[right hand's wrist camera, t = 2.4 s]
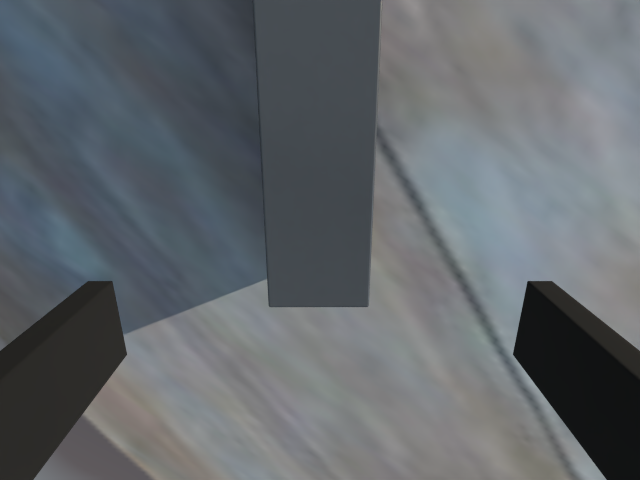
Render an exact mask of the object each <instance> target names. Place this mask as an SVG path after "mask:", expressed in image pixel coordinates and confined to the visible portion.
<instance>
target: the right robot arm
mask: <svg viewBox="0 0 640 480" xmlns="http://www.w3.org/2000/svg"><path fill="white" fill-rule="evenodd" d="M126 355H127V352H126V347H125V342H124V337H123V332H122V327H121V322H120V317H119V312H118V307H117V302H116V297H115V292H114V287H113V282H112V281H88V282H86V283H85V284H84V285H83V286H81V287H80V288H79V289H78V290H76V291H75V292H74V293H73V294H71V295H70V296H69V297H68V298H66V299H65V300H64V301H63V302H61V303H60V304H59V305H58V306H56V307H55V308H54V309H52V310H51V311H50V312H49V313H47V314H46V315H45V316H44V317H42V318H41V319H40V320H39V321H37V322H36V323H35V324H34V325H32V326H31V327H30V328H29V329H27V330H26V331H25V332H24V333H22V334H21V335H20V336H19V337H17V338H16V339H15V340H13V341H12V342H11V343H10V344H8V345H7V346H6V347H5V348H3V349H2V350H1V351H0V480H33V479H34V478H35V477H36V475H37V474H38V473H39V471H40V470H41V469H42V467H43V466H44V465H45V463H46V462H47V461H48V459H49V458H50V457H51V455H52V454H53V453H54V451H55V450H56V449H57V447H58V446H59V444H60V443H61V442H62V441H63V439H64V438H65V437H66V435H67V434H68V433H69V431H70V430H71V428H72V427H73V426H74V425H75V423H76V422H77V421H78V419H79V418H80V417H81V415H82V414H83V413H84V411H85V410H86V409H87V407H88V406H89V405H90V403H91V402H92V401H93V399H94V398H95V397H96V395H97V394H98V393H99V391H100V390H101V389H102V387H103V386H104V385H105V383H106V382H107V381H108V379H109V378H110V376H111V375H112V374H113V372H114V371H115V370H116V368H117V367H118V366H119V364H120V363H121V362H122V360H123V359H124V358H125V356H126ZM513 355H514V356H515V358H516V359H517V360H518V362H519V363H520V364H521V366H522V367H523V368H524V370H525V371H526V372H527V374H528V375H529V376H530V378H531V379H532V381H533V382H534V383H535V385H536V386H537V387H538V389H539V390H540V391H541V393H542V394H543V395H544V397H545V398H546V399H547V401H548V402H549V403H550V405H551V406H552V407H553V409H554V410H555V411H556V413H557V414H558V415H559V417H560V418H561V419H562V421H563V422H564V423H565V425H566V426H567V427H568V429H569V430H570V431H571V433H572V434H573V435H574V437H575V438H576V439H577V441H578V442H579V443H580V445H581V446H582V447H583V449H584V450H585V451H586V453H587V454H588V455H589V457H590V458H591V459H592V461H593V462H594V463H595V465H596V466H597V467H598V469H599V470H600V471H601V473H602V474H603V475H604V477H605V478H606V479H607V480H640V351H639V350H638V349H637V348H635V347H634V346H633V345H632V344H630V343H629V342H628V341H627V340H625V339H624V338H623V337H621V336H620V335H619V334H618V333H616V332H615V331H614V330H613V329H611V328H610V327H609V326H608V325H606V324H605V323H604V322H603V321H601V320H600V319H599V318H598V317H596V316H595V315H594V314H593V313H591V312H590V311H589V310H588V309H586V308H585V307H584V306H582V305H581V304H580V303H579V302H577V301H576V300H575V299H574V298H572V297H571V296H570V295H569V294H567V293H566V292H565V291H564V290H562V289H561V288H560V287H559V286H557V285H556V284H555V283H554V282H552V281H528V282H527V287H526V292H525V297H524V302H523V307H522V312H521V317H520V322H519V327H518V332H517V337H516V342H515V347H514V352H513Z"/></svg>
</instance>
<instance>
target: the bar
mask: <svg viewBox="0 0 640 480" xmlns="http://www.w3.org/2000/svg"><path fill="white" fill-rule="evenodd" d="M253 15H254V34H255V53H256V72H257V91H258V110H259V129H260V148H261V167H262V186H263V205H264V224H265V243H266V262H267V281H268V300H269V307H368V306H369V289H370V267H371V245H372V222H373V200H374V178H375V156H376V133H377V111H378V89H379V67H380V44H381V22H382V0H253Z"/></svg>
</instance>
